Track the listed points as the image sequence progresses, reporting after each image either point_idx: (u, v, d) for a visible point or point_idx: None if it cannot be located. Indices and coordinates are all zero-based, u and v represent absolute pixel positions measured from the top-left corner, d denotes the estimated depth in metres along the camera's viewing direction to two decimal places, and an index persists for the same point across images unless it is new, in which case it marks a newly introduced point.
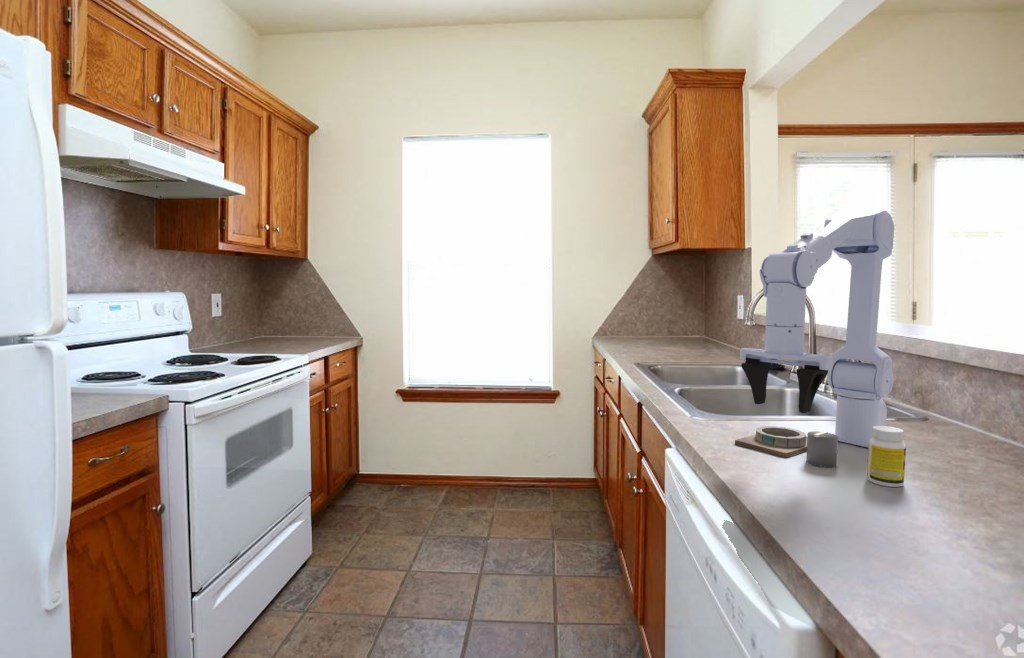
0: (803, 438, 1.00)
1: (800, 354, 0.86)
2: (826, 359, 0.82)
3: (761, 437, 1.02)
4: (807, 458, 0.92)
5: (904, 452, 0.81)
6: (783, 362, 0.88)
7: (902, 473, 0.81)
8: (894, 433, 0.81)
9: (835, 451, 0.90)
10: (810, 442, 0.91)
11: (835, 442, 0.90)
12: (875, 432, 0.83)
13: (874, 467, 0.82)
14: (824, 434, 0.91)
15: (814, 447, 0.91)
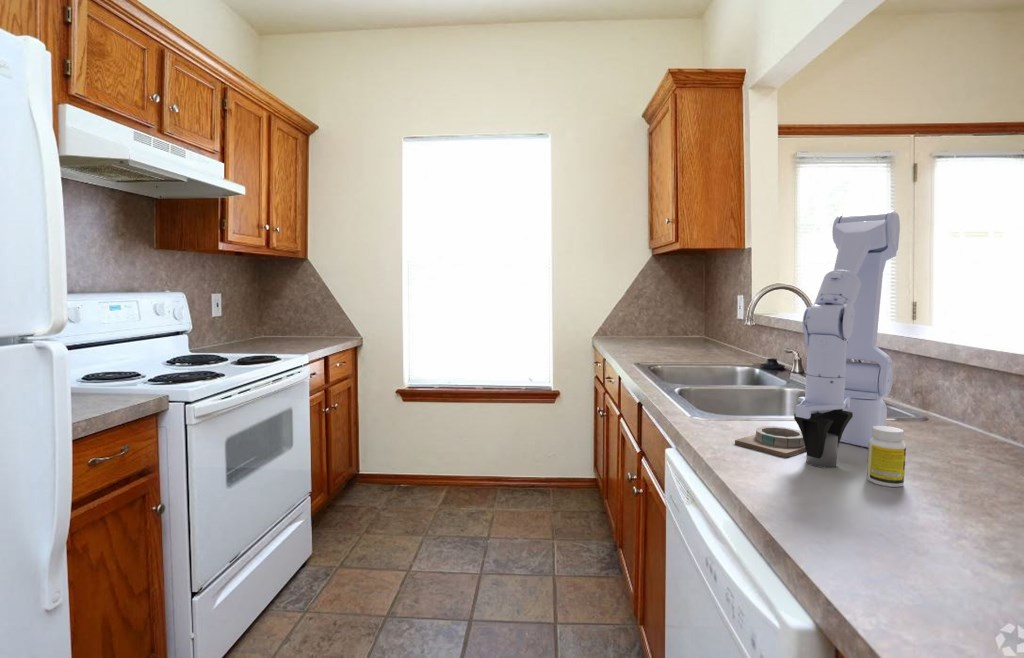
0: None
1: (813, 402, 0.90)
2: (796, 406, 0.88)
3: (761, 437, 1.02)
4: (807, 458, 0.92)
5: (904, 452, 0.81)
6: None
7: (902, 473, 0.81)
8: (894, 433, 0.81)
9: (835, 451, 0.90)
10: None
11: (835, 442, 0.90)
12: (875, 432, 0.83)
13: (874, 467, 0.82)
14: None
15: None
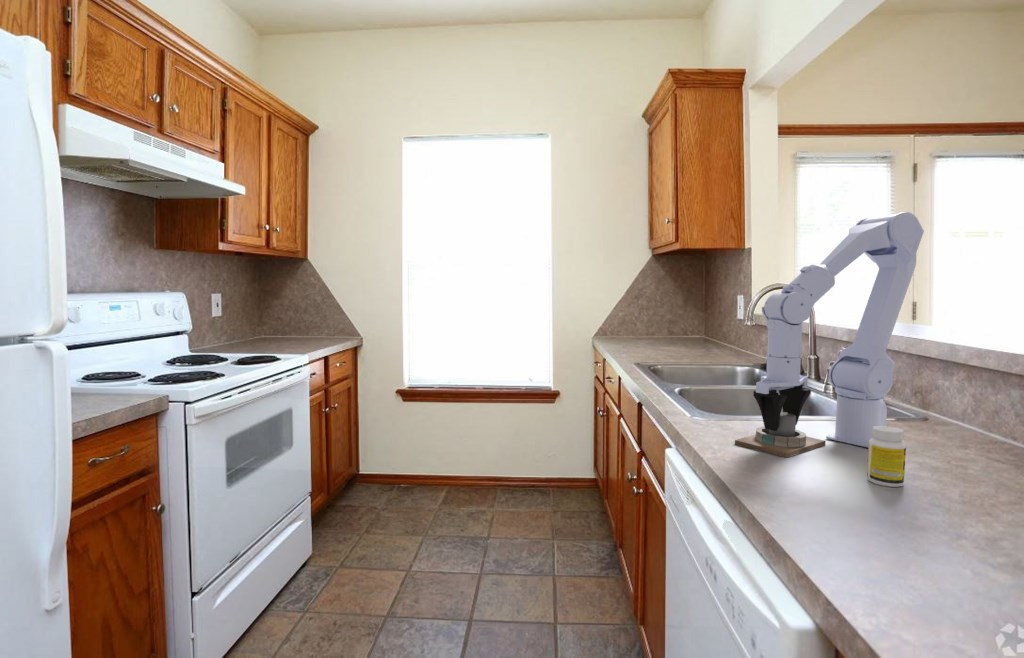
0: (803, 438, 1.00)
1: (772, 380, 1.01)
2: (756, 383, 0.99)
3: (761, 437, 1.02)
4: None
5: (904, 452, 0.81)
6: None
7: (902, 473, 0.81)
8: (894, 433, 0.81)
9: (793, 429, 1.01)
10: None
11: (792, 421, 1.01)
12: (875, 432, 0.83)
13: (874, 467, 0.82)
14: (784, 414, 1.02)
15: None
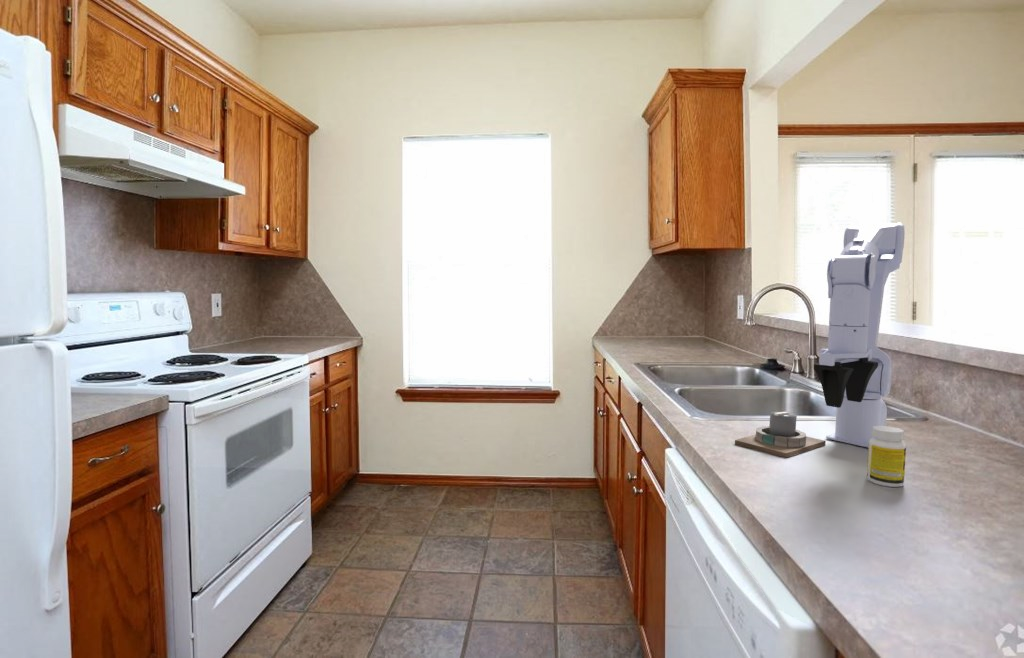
0: (803, 438, 1.00)
1: (837, 352, 0.91)
2: (820, 354, 0.89)
3: (761, 437, 1.02)
4: None
5: (904, 452, 0.81)
6: None
7: (902, 473, 0.81)
8: (894, 433, 0.81)
9: (793, 429, 1.01)
10: (771, 420, 1.03)
11: (793, 421, 1.01)
12: (875, 432, 0.83)
13: (874, 467, 0.82)
14: (784, 414, 1.02)
15: (774, 424, 1.02)
